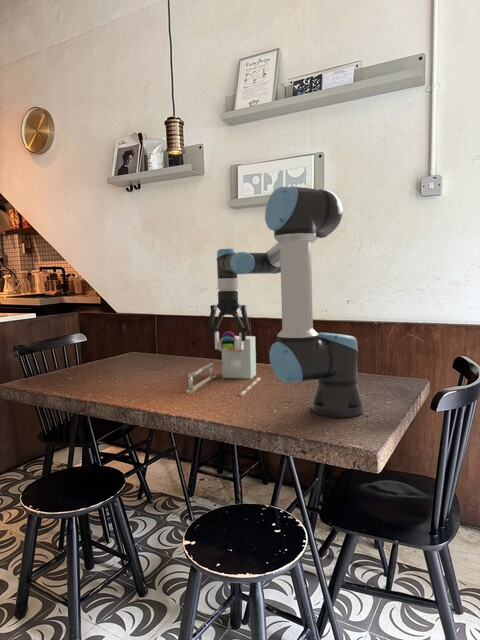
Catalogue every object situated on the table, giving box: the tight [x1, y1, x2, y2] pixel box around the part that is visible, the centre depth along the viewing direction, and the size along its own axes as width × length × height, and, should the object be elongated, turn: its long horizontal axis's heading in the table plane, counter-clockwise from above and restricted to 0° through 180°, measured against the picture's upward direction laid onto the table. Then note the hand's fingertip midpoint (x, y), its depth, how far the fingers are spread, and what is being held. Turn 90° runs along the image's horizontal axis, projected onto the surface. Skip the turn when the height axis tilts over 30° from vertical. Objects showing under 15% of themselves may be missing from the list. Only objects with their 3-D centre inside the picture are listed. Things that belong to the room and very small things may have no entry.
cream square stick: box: [239, 377, 262, 397], centre depth 163 cm, size 25×1×1 cm, turn 163°
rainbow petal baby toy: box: [216, 330, 240, 352], centre depth 168 cm, size 8×10×7 cm
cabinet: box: [221, 335, 257, 380], centre depth 180 cm, size 8×12×16 cm
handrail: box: [185, 362, 217, 394], centre depth 168 cm, size 25×2×6 cm, turn 163°
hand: (229, 349), depth 168 cm, fingers closed on rainbow petal baby toy, 9 cm apart
